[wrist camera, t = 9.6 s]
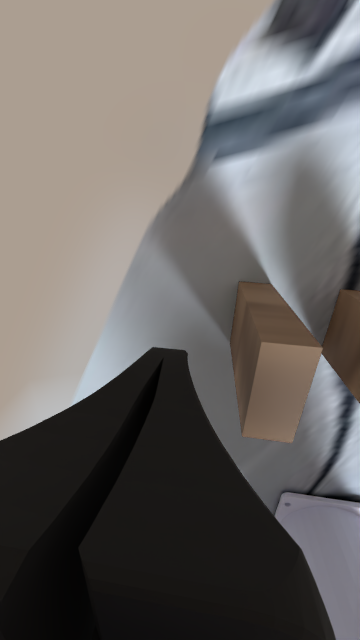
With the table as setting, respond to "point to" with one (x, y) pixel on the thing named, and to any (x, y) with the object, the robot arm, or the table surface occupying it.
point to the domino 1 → (270, 363)
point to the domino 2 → (345, 340)
